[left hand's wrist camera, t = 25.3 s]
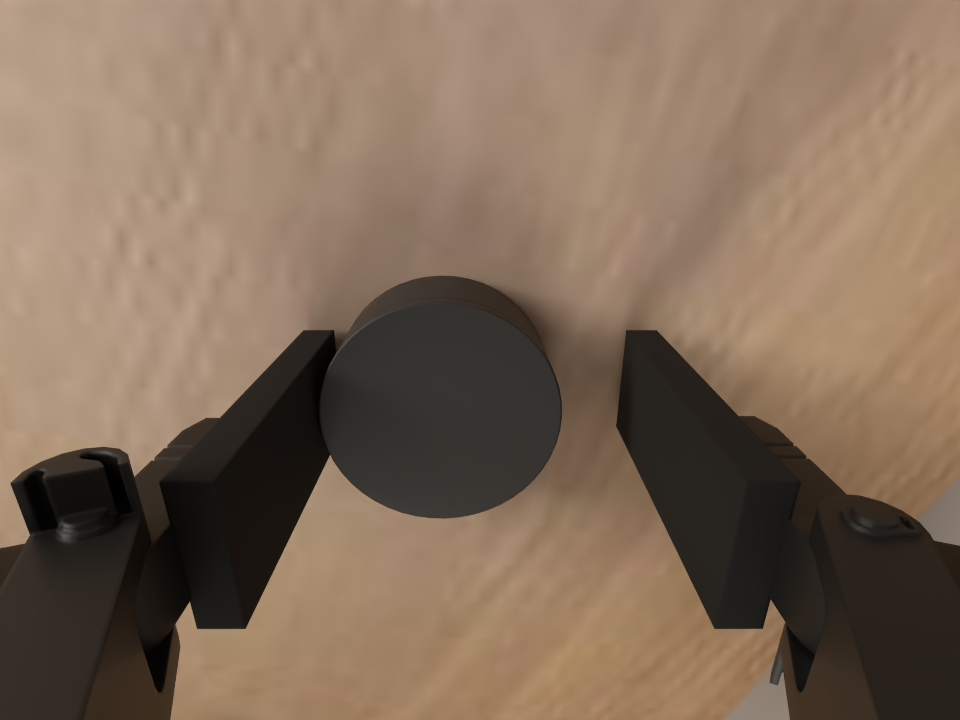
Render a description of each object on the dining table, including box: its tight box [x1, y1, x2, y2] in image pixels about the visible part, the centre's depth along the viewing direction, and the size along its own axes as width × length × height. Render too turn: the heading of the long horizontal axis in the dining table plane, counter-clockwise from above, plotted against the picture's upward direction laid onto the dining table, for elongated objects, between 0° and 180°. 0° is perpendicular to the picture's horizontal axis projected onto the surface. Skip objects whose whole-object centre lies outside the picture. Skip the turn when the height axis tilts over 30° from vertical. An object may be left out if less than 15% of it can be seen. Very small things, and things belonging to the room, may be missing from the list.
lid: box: [319, 276, 562, 518], centre depth 13 cm, size 5×5×2 cm
